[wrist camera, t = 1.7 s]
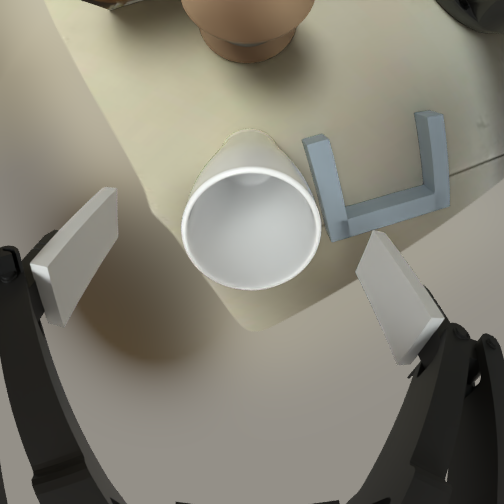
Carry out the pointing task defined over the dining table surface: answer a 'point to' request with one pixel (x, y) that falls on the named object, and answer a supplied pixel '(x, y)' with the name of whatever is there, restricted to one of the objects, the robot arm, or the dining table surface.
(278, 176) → the drinking glass
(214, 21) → the bobbin
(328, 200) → the blue u-shaped block
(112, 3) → the coffee box
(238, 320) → the dining table surface
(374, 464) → the robot arm
